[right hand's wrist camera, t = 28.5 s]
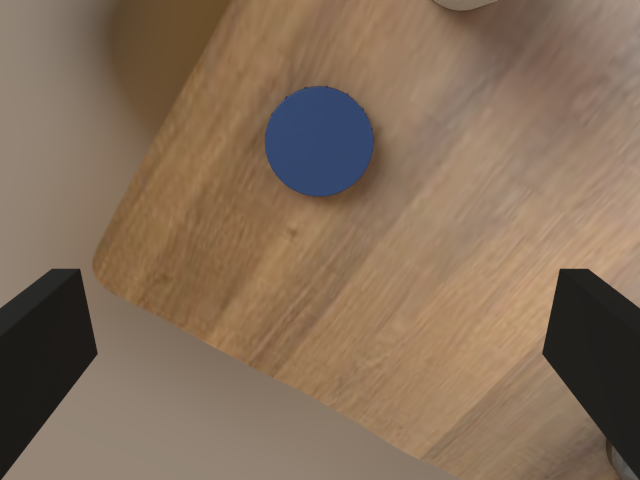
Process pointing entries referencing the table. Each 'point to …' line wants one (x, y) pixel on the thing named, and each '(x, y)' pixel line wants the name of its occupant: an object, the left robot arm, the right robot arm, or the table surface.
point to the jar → (463, 4)
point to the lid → (319, 141)
